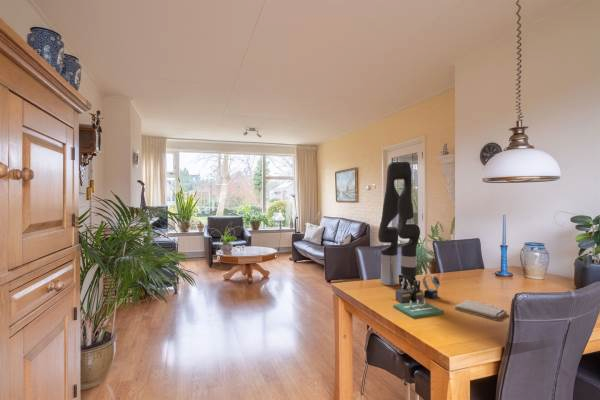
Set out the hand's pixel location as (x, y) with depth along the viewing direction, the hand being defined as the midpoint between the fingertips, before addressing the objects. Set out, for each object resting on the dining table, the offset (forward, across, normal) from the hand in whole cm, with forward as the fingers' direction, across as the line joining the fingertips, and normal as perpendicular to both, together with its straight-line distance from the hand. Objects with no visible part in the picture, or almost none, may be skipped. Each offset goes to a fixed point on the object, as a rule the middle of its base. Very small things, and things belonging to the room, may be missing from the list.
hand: (409, 298), depth 157 cm
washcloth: (+2, +23, +20) cm, 31 cm away
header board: (+1, +13, -5) cm, 14 cm away
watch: (+1, -1, +14) cm, 14 cm away
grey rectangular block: (+1, 0, 0) cm, 1 cm away
